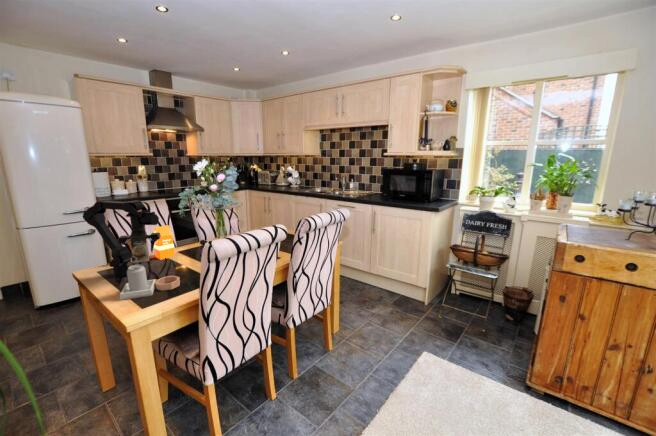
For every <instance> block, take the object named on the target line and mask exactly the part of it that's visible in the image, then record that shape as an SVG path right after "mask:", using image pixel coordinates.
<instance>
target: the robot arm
mask: <svg viewBox="0 0 656 436" xmlns="http://www.w3.org/2000/svg"><path fill="white" fill-rule="evenodd" d="M107 210H118V211H124V212H125V213H127V214H126V215H125V217H126V218H129V219H130V220H129V221H130V226H131V229H130V230H131V233H130V235H128V234H127V235H120V236H119V237H118V238H117V237H116V236H115V234H114V233H113V232H112V230H111V229H110V228H109V226H108V225H107V223H106V216H105V213H106V212H107ZM82 219H83V220H84V221H85V222H86V223H87V224H88V225H90V226H91V227H94V228H95V230H96V231H97V232H98V234H99V235H100V236H101V238H102V239H103V241H104V242H105V244H106V246H108V247H109V249H110V251H111V252H110V253H111V255H110V256H111V258H112V259H111V261H109V263H108V264H109V267H110V268H113V273H114V276H113V278H114V279H117V278H124V277H127V270H128V268H129V267H130V266H131V265H129V263H130V262H132V255H133V250H132V246H131V242H141V241H142V239H147V240H149V239H150V251H151V253H153V251H154V249H155V248H154V244H155V241H157V240H159V239H160V237H161V235H160V233H159V232H157V233H154V232H152V233H150V234H147V232H146V226H157V225H158V224H159V220H160V218H159V216H158V215H157V214H156V212H155V211H149V209H148V208H147V207H146V206H145V205H144V203H143V201H142V200H139V199H137V200H136V199H135V200H130V201H118V200H117V201H115V200H105V199H104V200H99V201H96V202H95V203H94V204H93V205H92V206H90V207H89V208H87V210H85V211H84V212H83V213H82ZM129 236H130V237H129ZM129 240H131V241H129ZM123 245H124V246H123Z"/></svg>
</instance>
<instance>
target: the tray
mask: <svg viewBox="0 0 656 436" xmlns="http://www.w3.org/2000/svg"><path fill="white" fill-rule="evenodd" d="M156 280H157V279H155V278H154V279H147V284H148V287H147V289H146V290H141V291H134V292H131V291H130V289H129V283H128V282H126V284H125V285H124V287H123V288H122V290H121V292H120V293H119V299H120V301H125V300H132V299H138V298H146V297H152V296H153V294H154V292H155V291H156V286H155V282H156Z"/></svg>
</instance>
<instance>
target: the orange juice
mask: <svg viewBox="0 0 656 436" xmlns="http://www.w3.org/2000/svg"><path fill="white" fill-rule="evenodd" d="M157 232H159V233H160V235H161V237H160V239H159V240H157V241H155V244H154V248H153V249H154V254H155V258H157V259H158V260H160V261H162V260H166V259H168V258H169V257H170V258H173V257H172V256H174V257H175V246H174V238H173V232H172V231H171V228H170V226H169V224H168V225H162V226H156V227H154V229H153V233H157ZM165 258H166V259H165Z"/></svg>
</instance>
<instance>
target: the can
mask: <svg viewBox="0 0 656 436" xmlns="http://www.w3.org/2000/svg"><path fill="white" fill-rule="evenodd" d="M146 272H147V271H146V267H145V266H144V265H143V264H134V265H133V264H132V265H130V267H129V268H128V270H127V276H126V277H127V283H129V289H130V291H131V292H134V291H141V290H146V289H147V287H148V284H147V280H148V278H147V273H146Z"/></svg>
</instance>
